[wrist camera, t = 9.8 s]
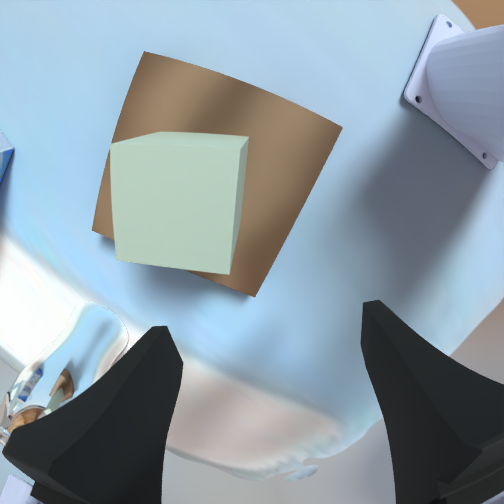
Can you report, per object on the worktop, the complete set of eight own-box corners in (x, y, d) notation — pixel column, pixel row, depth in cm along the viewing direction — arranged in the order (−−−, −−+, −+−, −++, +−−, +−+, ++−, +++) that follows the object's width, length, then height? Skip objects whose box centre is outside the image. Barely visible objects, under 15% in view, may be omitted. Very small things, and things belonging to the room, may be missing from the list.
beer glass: (58, 307, 24) (-24, 422, 11) (101, 286, 23) (5, 430, 9) (99, 358, 27) (43, 476, 13) (147, 345, 25) (91, 491, 12)
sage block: (249, 136, 15) (240, 149, 10) (240, 222, 18) (229, 274, 12) (160, 131, 15) (110, 144, 10) (158, 214, 17) (116, 260, 12)
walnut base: (334, 125, 17) (342, 127, 15) (255, 281, 22) (254, 297, 20) (155, 56, 15) (144, 51, 13) (104, 219, 20) (91, 230, 18)
